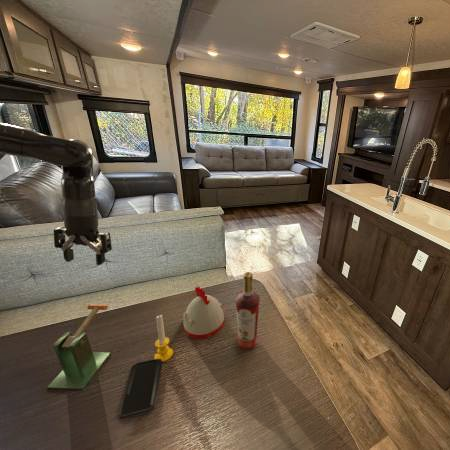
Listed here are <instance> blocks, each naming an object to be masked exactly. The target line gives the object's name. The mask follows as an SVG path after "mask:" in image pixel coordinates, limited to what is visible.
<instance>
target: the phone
mask: <svg viewBox="0 0 450 450" xmlns="http://www.w3.org/2000/svg"><path fill="white" fill-rule="evenodd" d="M162 367H163V362H162V360H161V359H154V358H153V359H150V360H145V361H140V362H135V363H134V364H132V366H131V367H130V372H129V375H128V378H127V382H126V385H125V390H124V393H123V397H122V400H121V403H120V404H121V405H120V407H119V410H118V417H119V419H125V418H128V419H132V418H134V417H135V418H136V417H138V416H142V415H145V414H149V413H151V412H153V411H154V410H155V409H156V403H157V398H158V393H159V391H158V390H159V386H160V378H161V374H162Z"/></svg>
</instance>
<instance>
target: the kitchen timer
mask: <svg viewBox="0 0 450 450" xmlns="http://www.w3.org/2000/svg"><path fill="white" fill-rule="evenodd" d="M194 291H195V293H196V297H194V298H193V299H192V300H191V301H190V303H189V304H188V306H187V308H186V310H185V312H183V316H182V317H183V330H184V332H185V334H186V335H187V336H188V337H190V338H193V339H206V337H207V338H209V337H212V336H214V335H216V334H217V333H218V332H219V331H220V330H221V329H222V328H223V327H224V325H223V324H225V314H224V311H223V304H222V303H221V302H220V301H219V299H218V298H216V297H213V296H212V295H209V294H206V292H205V290H203V288H201V287H200V286H197V287H194Z"/></svg>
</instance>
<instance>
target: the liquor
mask: <svg viewBox="0 0 450 450" xmlns="http://www.w3.org/2000/svg"><path fill="white" fill-rule="evenodd" d="M242 275H243V277H242V279H243V280H242V281H243V290H242V292H241V293H239V294H238V295H237V296H236V297H235V306H236V307H235V311H236V320H237V321H236V322H237V340H236V343H237V346H238V347H239V348H241V349H243V350H249V349H253V348H254V347H255V346H257V344H258V341H259V340H258V339H259V338H258V321H259V313H260V311H259V310H260V296H259V294H257V293H256V292H254V291H253V284H252V283H253V273H252V272H250V271H246V272H244V273H243V274H242Z"/></svg>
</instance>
